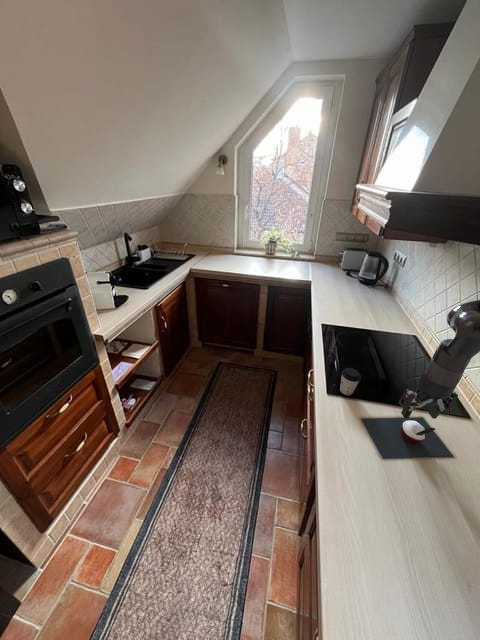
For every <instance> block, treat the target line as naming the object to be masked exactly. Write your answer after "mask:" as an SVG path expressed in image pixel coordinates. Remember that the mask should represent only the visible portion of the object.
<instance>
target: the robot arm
mask: <svg viewBox="0 0 480 640" xmlns="http://www.w3.org/2000/svg"><path fill="white" fill-rule="evenodd" d="M446 323H447V325H448V326H449V327H450V329H452V331H453V332H454V333H455V335H454V337H453V338H446V339H443V340H442V341H440V343H439V344H438V346H436V349H435V352H434V353H433V355H432V357H431V358H430V360H429V361H428V363H427V364H426V366H425V367H424V370H423V372H422V374H421V376H420V378H419V380H418V388H416V390H411V389H410V388H406V389H405V390H404V391H403V393H402V395H401V397H400V398H399V401H398V404H399V405H400V407H401V408H402V410H401V412H400V413H401V416H402V418H405V419H409V418H411V415H412V413H413V411H414V410H416V409H421V408H422V407H424V406H428V405H430V406H431V408H430V409H429V411H428V415H429V416H430V417H431V418H432V419H434V420H435V419H437V418H438V417H439V416H440V414H441V413H442V412H443V411H445V410H446V409H447V410H452V409H453V406H454V405H455V404H456V403H455V402H456V401H457V399H458V398H459V394H458V393H457V392H456V391H455V389H456V388H457V386H458V385H459V383H460V381H461V379H462V378H463V376H464V373H465V370H466V368H467V367H468V366H469V364H470V362H471V361H472V358H474V357H476V355H478V354H479V353H480V299H476V300H470V301H467V302H463V303H461V304H458V305H457V306H455V307H453V308H452V309H451V310H449V312H448V313H447V315H446ZM416 399H417V400H418V402H417V401H416ZM412 403H413V405H411V404H412Z"/></svg>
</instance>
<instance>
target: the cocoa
mask: <svg viewBox="0 0 480 640" xmlns="http://www.w3.org/2000/svg"><path fill="white" fill-rule="evenodd" d="M436 430H437V429H436V427H431V426H430V428H427V429H424V427H423V426H421V425H420V424H419V423H418V422H416V421H410V420H405V422H404V423H403V425H402V427H401V431H400V432H401V435H402V437H403V439H404V440H406V441H407V442H409V443H412V444H417V443H419V442H421V441H422V440H423V439H424V438H425V434H426V433H429V432H431V431H434V432H435V431H436Z"/></svg>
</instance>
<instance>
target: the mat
mask: <svg viewBox="0 0 480 640" xmlns="http://www.w3.org/2000/svg"><path fill="white" fill-rule="evenodd" d="M405 420H410V421H416V422H418V423H419V424H420V425H421V426H423V427H424V429H427V428H430V427H431V425H430V424H428V422H427V421H426V420H425V418H424V417H422V416H421V417H420V416H419V417H415V416H414V417H409V419H405V418H404V417H370V418H369V417H368V418H367V417H365V418H364V417H362V418H361V421H362V423H363V425H364V427H365V429H366V430H367V432H368V434H369V436H370V438H371V440H372V442H373V443H374V446H375V447H376V450H377V451H378V452H379V454H380V456H381V458H382V459H400V458H401V459H402V458H403V459H404V458H405V459H406V458H439V457H440V458H443V457H444V458H445V457H454V455H453V453H452V452H451V451H450V449H449V448H448V447H447V446H446V445H445V443H444V442H443V441H442V439H441V438H440V437H439V436H438V434H437V433H436V432H435V430H434V431H431V432H429V433H426V434H425V438H424V439H423V440H422V441H421V442H419V443H417V444H412V443H409V442H407V441H406V440H404V439H403V437H402V435H401V432H400V431H401V427H402V425H403V423H404V422H405Z"/></svg>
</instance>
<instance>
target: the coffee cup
mask: <svg viewBox="0 0 480 640" xmlns="http://www.w3.org/2000/svg"><path fill="white" fill-rule="evenodd" d="M361 380H362V375H361V373H360V372H359V371H358V370H357V369H356V368H352V367H346V368H343V370H342V371H341V377H340V387H339V392H340V393H341V394H343V395H345V396H352V395H353V393H354V391H355V390H356V388H357V386H358V384H359V382H360V381H361Z"/></svg>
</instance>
